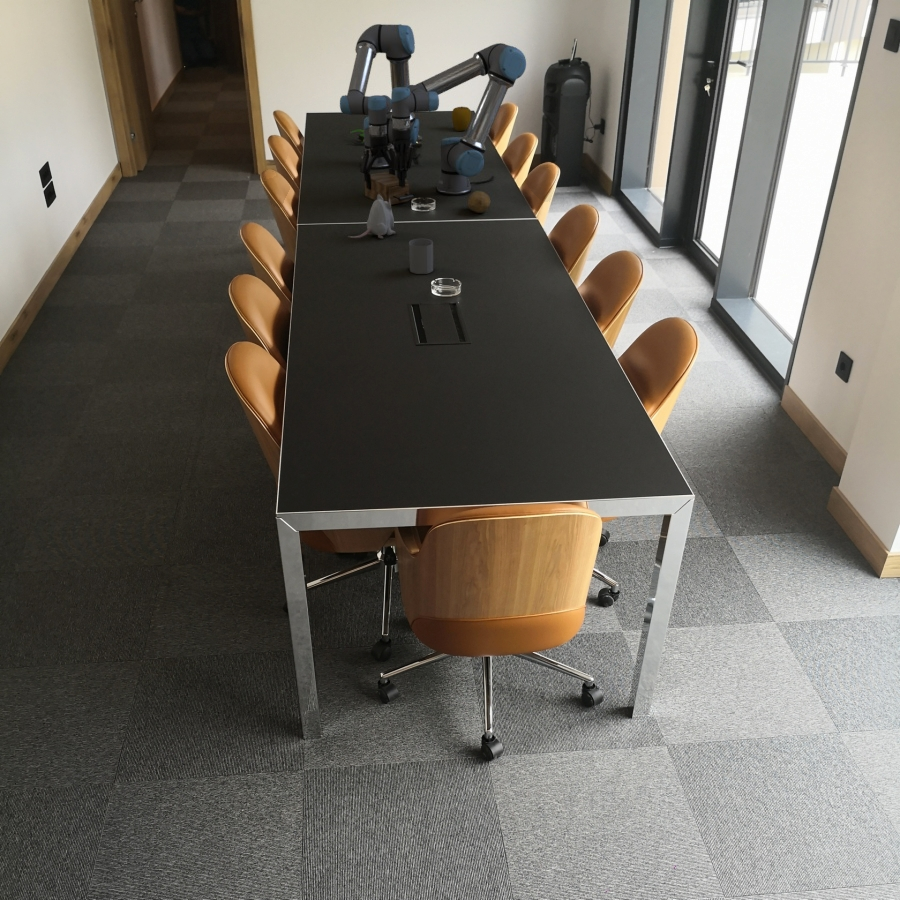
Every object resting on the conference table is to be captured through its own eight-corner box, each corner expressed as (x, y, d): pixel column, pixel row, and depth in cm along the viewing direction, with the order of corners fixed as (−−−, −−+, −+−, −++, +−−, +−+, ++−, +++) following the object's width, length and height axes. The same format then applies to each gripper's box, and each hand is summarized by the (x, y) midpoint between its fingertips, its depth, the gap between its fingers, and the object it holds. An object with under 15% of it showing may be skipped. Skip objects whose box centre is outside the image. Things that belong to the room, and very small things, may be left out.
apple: (471, 132, 486) (471, 108, 479) (451, 132, 486) (451, 108, 479) (470, 128, 495) (471, 104, 488) (452, 128, 495) (452, 104, 488)
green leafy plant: (404, 126, 468) (348, 124, 466) (404, 141, 461) (347, 139, 459) (404, 135, 473) (349, 133, 471) (404, 150, 466) (348, 148, 463)
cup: (409, 265, 311) (408, 238, 306) (432, 265, 312) (431, 238, 307) (410, 274, 304) (409, 246, 299) (433, 273, 305) (433, 246, 299)
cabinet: (408, 201, 377) (407, 180, 373) (386, 205, 372) (385, 185, 367) (386, 191, 390) (385, 171, 385) (365, 195, 384) (364, 175, 379)
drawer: (416, 203, 372) (416, 187, 368) (397, 207, 367) (396, 191, 363) (389, 191, 387) (388, 175, 383) (370, 195, 382) (369, 179, 378)
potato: (488, 206, 371) (488, 187, 367) (492, 216, 359) (492, 197, 355) (465, 206, 370) (465, 188, 366) (468, 217, 358) (468, 197, 354)
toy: (401, 233, 341) (400, 195, 333) (356, 248, 326) (354, 209, 318) (385, 228, 346) (384, 190, 338) (340, 243, 331) (337, 204, 323)
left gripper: (358, 140, 362) (361, 192, 373) (406, 132, 373) (407, 184, 385) (349, 136, 367) (352, 188, 379) (396, 129, 378) (398, 180, 390)
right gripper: (392, 132, 349) (393, 190, 361) (419, 128, 355) (419, 186, 368) (382, 128, 354) (384, 186, 366) (409, 124, 360) (410, 182, 373)
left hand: (380, 186), depth 382 cm, fingers closed on cabinet, 11 cm apart
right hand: (402, 186), depth 367 cm, fingers closed
